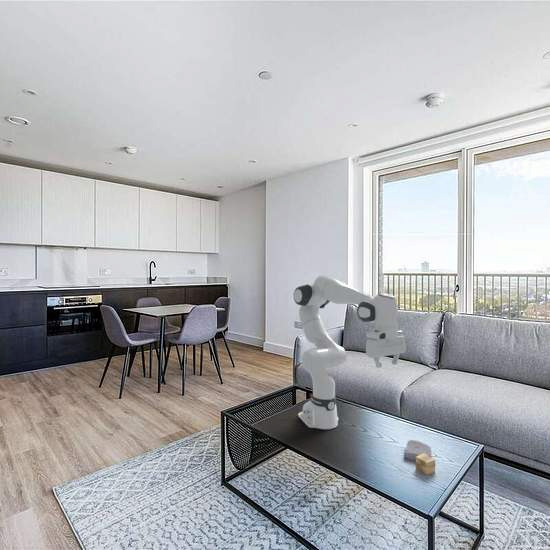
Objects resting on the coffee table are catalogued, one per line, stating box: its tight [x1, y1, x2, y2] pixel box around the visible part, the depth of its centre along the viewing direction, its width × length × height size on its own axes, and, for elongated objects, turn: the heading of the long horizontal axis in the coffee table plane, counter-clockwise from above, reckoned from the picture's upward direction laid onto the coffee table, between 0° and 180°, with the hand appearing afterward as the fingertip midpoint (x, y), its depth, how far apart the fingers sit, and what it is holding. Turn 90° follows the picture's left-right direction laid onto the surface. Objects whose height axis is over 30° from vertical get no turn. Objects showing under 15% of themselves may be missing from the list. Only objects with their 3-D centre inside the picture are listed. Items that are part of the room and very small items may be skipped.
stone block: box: [403, 439, 433, 462], centre depth 148 cm, size 12×5×10 cm
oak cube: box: [415, 453, 436, 476], centre depth 137 cm, size 5×5×5 cm
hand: (386, 365), depth 145 cm, fingers open, 8 cm apart
